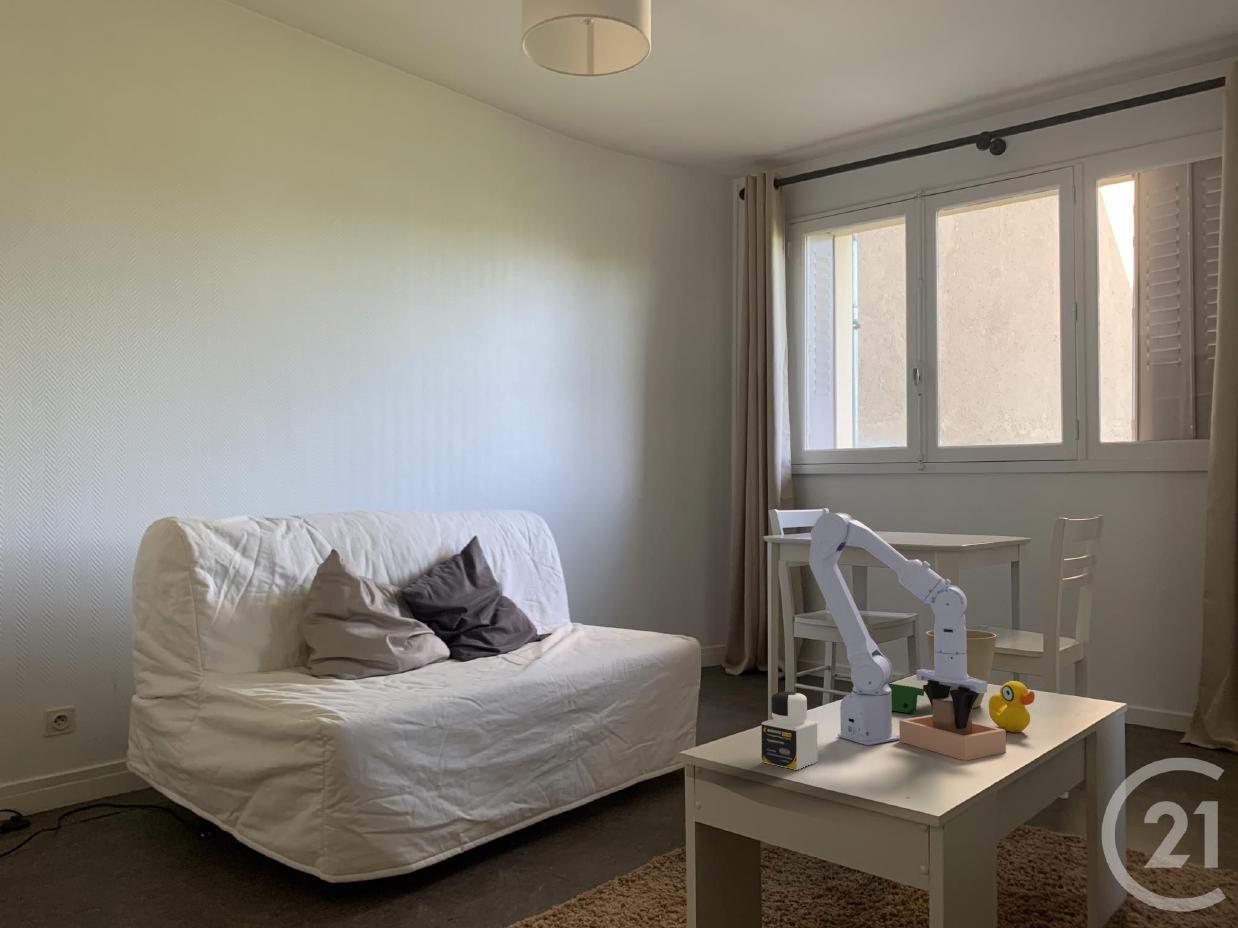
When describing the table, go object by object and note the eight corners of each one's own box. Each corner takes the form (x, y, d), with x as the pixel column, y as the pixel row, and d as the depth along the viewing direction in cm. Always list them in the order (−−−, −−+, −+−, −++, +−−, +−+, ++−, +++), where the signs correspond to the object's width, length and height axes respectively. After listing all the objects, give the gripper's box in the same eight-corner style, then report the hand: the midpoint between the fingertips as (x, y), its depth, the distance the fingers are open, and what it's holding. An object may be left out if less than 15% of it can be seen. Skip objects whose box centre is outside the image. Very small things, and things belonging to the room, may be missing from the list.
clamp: (914, 730, 200) (933, 694, 199) (900, 728, 196) (920, 691, 195) (871, 700, 209) (889, 665, 208) (857, 698, 205) (876, 662, 204)
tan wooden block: (950, 741, 167) (950, 703, 167) (932, 737, 170) (932, 699, 171) (972, 737, 170) (971, 699, 170) (954, 733, 174) (954, 695, 174)
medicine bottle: (760, 763, 159) (760, 693, 160) (783, 754, 164) (782, 687, 165) (796, 771, 154) (795, 699, 155) (818, 762, 160) (817, 693, 160)
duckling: (1045, 737, 177) (1044, 685, 178) (1023, 739, 175) (1022, 686, 176) (1002, 723, 188) (1002, 674, 188) (981, 725, 186) (980, 676, 187)
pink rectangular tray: (965, 760, 161) (964, 737, 161) (899, 741, 174) (899, 720, 174) (1005, 752, 166) (1005, 729, 167) (939, 733, 179) (939, 713, 179)
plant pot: (946, 694, 216) (945, 626, 217) (1009, 705, 205) (1008, 633, 206) (914, 704, 206) (913, 633, 206) (978, 715, 195) (977, 640, 196)
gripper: (997, 655, 167) (998, 730, 166) (933, 644, 179) (934, 714, 179) (971, 658, 163) (972, 735, 162) (908, 647, 176) (909, 719, 175)
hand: (951, 725), depth 170 cm, fingers closed on tan wooden block, 4 cm apart
